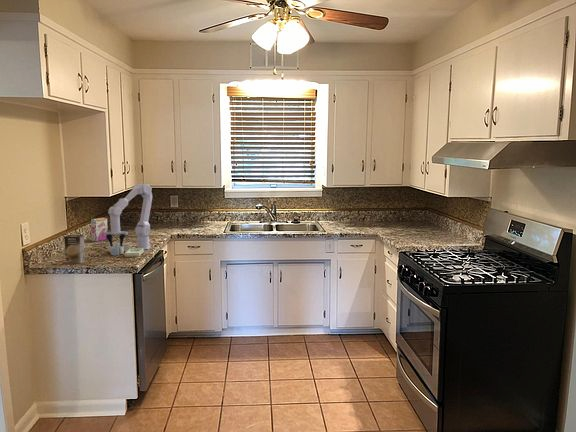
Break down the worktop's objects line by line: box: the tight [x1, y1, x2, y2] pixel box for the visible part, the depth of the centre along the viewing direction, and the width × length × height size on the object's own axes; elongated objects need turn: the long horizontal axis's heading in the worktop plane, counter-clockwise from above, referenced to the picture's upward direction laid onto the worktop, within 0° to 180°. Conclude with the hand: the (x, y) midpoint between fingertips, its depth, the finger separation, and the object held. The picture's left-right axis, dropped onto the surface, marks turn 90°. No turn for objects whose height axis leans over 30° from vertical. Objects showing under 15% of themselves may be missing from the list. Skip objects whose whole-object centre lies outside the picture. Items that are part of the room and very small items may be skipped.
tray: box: [124, 247, 145, 258], centre depth 285 cm, size 15×9×2 cm, turn 6°
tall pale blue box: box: [110, 241, 122, 256], centre depth 287 cm, size 10×4×8 cm, turn 6°
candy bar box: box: [90, 217, 109, 242], centre depth 330 cm, size 11×5×16 cm, turn 152°
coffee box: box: [64, 234, 86, 264], centre depth 263 cm, size 9×6×16 cm
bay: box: [107, 242, 131, 255], centre depth 291 cm, size 9×13×5 cm
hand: (116, 246), depth 287 cm, fingers open, 5 cm apart
